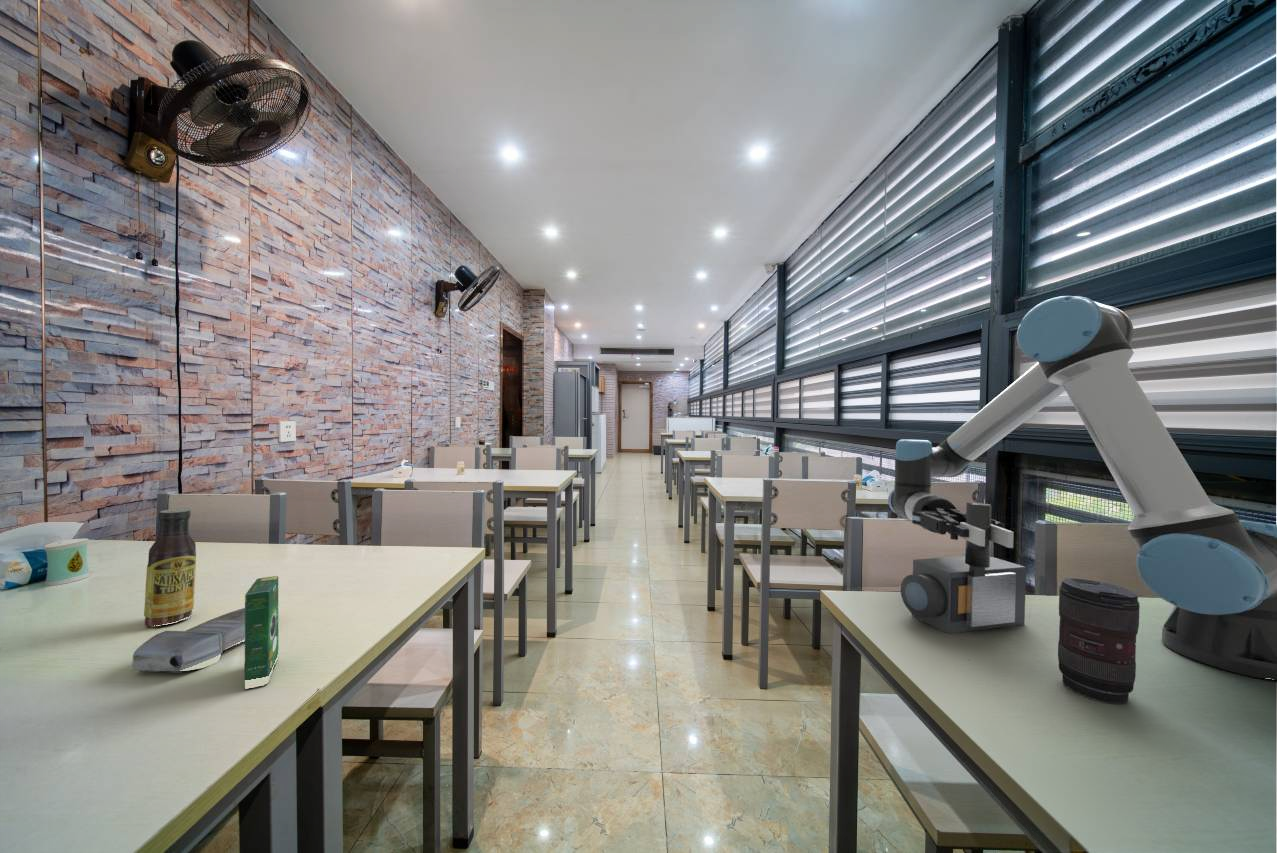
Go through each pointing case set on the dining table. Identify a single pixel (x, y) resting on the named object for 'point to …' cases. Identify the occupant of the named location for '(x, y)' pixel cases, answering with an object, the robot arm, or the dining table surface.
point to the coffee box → (261, 628)
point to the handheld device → (190, 644)
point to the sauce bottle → (170, 570)
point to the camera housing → (953, 592)
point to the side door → (986, 577)
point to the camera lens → (1098, 639)
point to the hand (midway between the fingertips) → (996, 539)
